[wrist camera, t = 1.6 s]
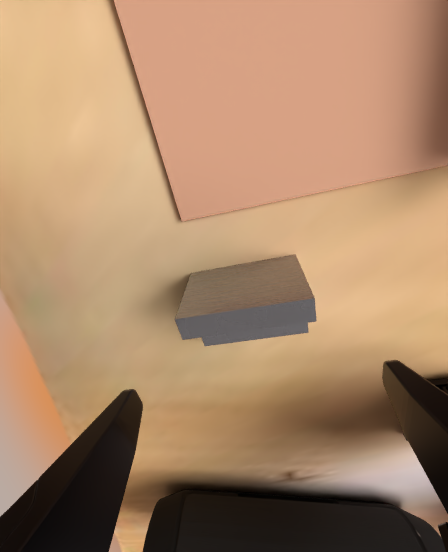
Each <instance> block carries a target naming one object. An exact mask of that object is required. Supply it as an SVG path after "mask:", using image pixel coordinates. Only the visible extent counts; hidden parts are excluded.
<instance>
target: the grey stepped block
mask: <svg viewBox="0 0 448 552" xmlns="http://www.w3.org/2000/svg"><path fill="white" fill-rule="evenodd" d="M175 321H176V324H177V326H178V329H179V331H180V334H181V337H182V339H183V340H185V339H192V338H199V337H202V340H203V343H204V345H205V346H210V345H218V344H225V343H233V342H240V341H248V340H256V339H263V338H271V337H278V336H286V335H293V334H301V333H308V322H315V321H316V310H315V298H314V296H313V294H312V291H311V289H310V287H309V284H308V282H307V280H306V277H305V275H304V273H303V271H302V268H301V266H300V264H299V261H298V259H297V257H296V254H295V255H290V256H284V257H279V258H273V259H267V260H262V261H256V262H251V263H245V264H240V265H234V266H228V267H223V268H217V269H212V270H206V271H200V272H195V273H191V275H190V277H189V280H188V283H187V286H186V289H185V292H184V295H183V297H182V300H181V303H180V306H179V309H178V312H177V314H176V317H175Z"/></svg>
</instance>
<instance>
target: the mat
mask: <svg viewBox="0 0 448 552" xmlns="http://www.w3.org/2000/svg"><path fill="white" fill-rule="evenodd" d="M114 3H115V6H116V10H117V13H118V16H119V19H120V22H121V26H122V29H123V32H124V35H125V39H126V42H127V45H128V48H129V52H130V55H131V58H132V61H133V65H134V68H135V71H136V74H137V78H138V81H139V84H140V87H141V91H142V94H143V97H144V100H145V104H146V107H147V110H148V113H149V117H150V120H151V123H152V126H153V130H154V133H155V136H156V139H157V143H158V146H159V149H160V152H161V156H162V159H163V162H164V165H165V169H166V172H167V175H168V178H169V181H170V185H171V188H172V191H173V194H174V198H175V201H176V204H177V207H178V211H179V214H180V217H181V220H182V221H187V220H192V219H196V218H201V217H206V216H211V215H215V214H220V213H225V212H230V211H234V210H239V209H244V208H249V207H253V206H258V205H263V204H268V203H272V202H277V201H282V200H287V199H291V198H296V197H301V196H306V195H310V194H315V193H320V192H325V191H329V190H334V189H339V188H344V187H348V186H353V185H358V184H363V183H367V182H372V181H377V180H381V179H386V178H391V177H396V176H400V175H405V174H410V173H415V172H419V171H424V170H429V169H434V168H438V167H443V166H448V0H114Z"/></svg>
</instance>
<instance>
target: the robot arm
mask: <svg viewBox="0 0 448 552" xmlns="http://www.w3.org/2000/svg"><path fill="white" fill-rule="evenodd" d="M382 379H383V384H384V387H385V389H386V391H387V394H388V396H389V399H390V401H391V403H392V406H393V408H394V411H395V413H396V415H397V418H398V420H399V423H400V425H401V427H402V430H403V435H404V437H405V438H406V440H407V441H409V443H410V445H411V447H412V449H413V451H414V453H415V454H416V456H417V458H418V460H419V462H420V464H421V465H422V467H423V469H424V471H425V473H426V475H427V477H428V478H429V480H430V482H431V484H432V486H433V488H434V489H435V491H436V493H437V495H438V497H439V499H440V501H441V502H442V504H443V506H444V508H445V510H446V512H447V513H448V379H438V380H428V381H427V380H426V379H424V378H423V377H422V376H420V375H419V374H417V373H416V372H414V371H413V370H412V369H410V368H409V367H407V366H406V365H404V364H403V363H401V362H400V361H398V360H391V361H385V362H384V364H383V376H382ZM142 411H143V404H142V401H141V399H140V397H139V396H138V394H137V392H136V390H134V389H129V390H124V391H122V392H121V393H120V394H119V395H118V396H117V397H116V399H115V400H114V401H113V402H112V403H111V404H110V405H109V406H108V407H107V408H106V409H105V410H104V411H103V412H102V413H101V414H100V415H99V416H98V417H97V418H96V419H95V420H94V421H93V422H92V423H91V424H90V426H89V427H88V428H87V429H86V430H85V431H84V432H83V433H82V434H81V435H80V436H79V437H78V438H77V439H76V440H75V441H74V442H73V443H72V444H71V445H70V446H69V447H68V448H67V449H66V450H65V452H63V454H62V455H61V456H60V457H59V458H58V459H57V460H56V461H55V462H54V463H53V464H52V465H51V466H50V467H49V468H48V469H47V470H46V471H45V472H44V473H43V474H42V475H41V476H40V478H39V479H38V480H37V481H36V482H35V483H34V484H33V485H32V486H31V487H30V488H29V489H28V490H27V491H26V492H25V493H24V494H23V495H22V496H21V497H20V498H19V499H18V500H17V501H16V502H15V503H14V504H13V505H12V506H11V507H10V508H9V509H8V510H7V511H6V512H5V513H4V514H3V515H2V516H1V517H0V552H109V548H110V544H111V541H112V537H113V533H114V530H115V526H116V522H117V518H118V515H119V511H120V507H121V503H122V500H123V496H124V492H125V489H126V485H127V481H128V477H129V474H130V470H131V466H132V462H133V459H134V455H135V451H136V446H137V440H138V434H139V428H140V422H141V416H142ZM438 528H439V531H440V534H441V537H442V540H443V543H444V547H445V550H446V552H448V522H445V523H443V524H440V525H438Z"/></svg>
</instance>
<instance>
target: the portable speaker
mask: <svg viewBox="0 0 448 552" xmlns="http://www.w3.org/2000/svg"><path fill="white" fill-rule="evenodd" d="M143 552H446V550H445V547H444V543H443V540H442V538H441V537H440V535H439V534H438V533H437V532H436V531H435V530H434V528H433V527H432V526H431V525H429V524H428V523H427V522H426V521H424V520H422V519H420V518H418V517H416V516H414V515H412V514H410V513H408V512H406V511H404V510H402V509H400V508H398V507H396V506H393V505H390V504H383V503H374V502H361V501H348V500H335V499H321V498H307V497H294V496H280V495H266V494H252V493H238V492H224V491H209V490H183V491H180V492H178V493H175V494H172V495H170V496H167V497H165V498H162V499H160V500H159V501H158V502H157V504H156V506H155V508H154V511H153V514H152V517H151V520H150V523H149V527H148V531H147V534H146V538H145V543H144V548H143Z"/></svg>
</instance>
